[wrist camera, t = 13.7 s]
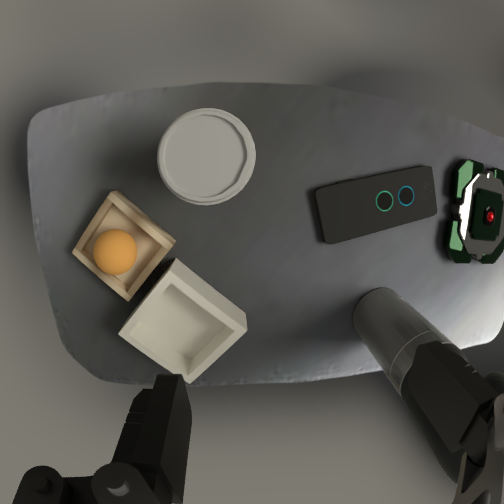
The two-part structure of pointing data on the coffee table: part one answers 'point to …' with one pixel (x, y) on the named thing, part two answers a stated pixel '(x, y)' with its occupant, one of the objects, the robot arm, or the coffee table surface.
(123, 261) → the ball
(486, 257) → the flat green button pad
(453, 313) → the coffee table surface
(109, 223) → the tray
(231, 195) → the disposable coffee cup
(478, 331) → the coffee table surface
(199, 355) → the white square bin
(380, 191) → the smart home device
